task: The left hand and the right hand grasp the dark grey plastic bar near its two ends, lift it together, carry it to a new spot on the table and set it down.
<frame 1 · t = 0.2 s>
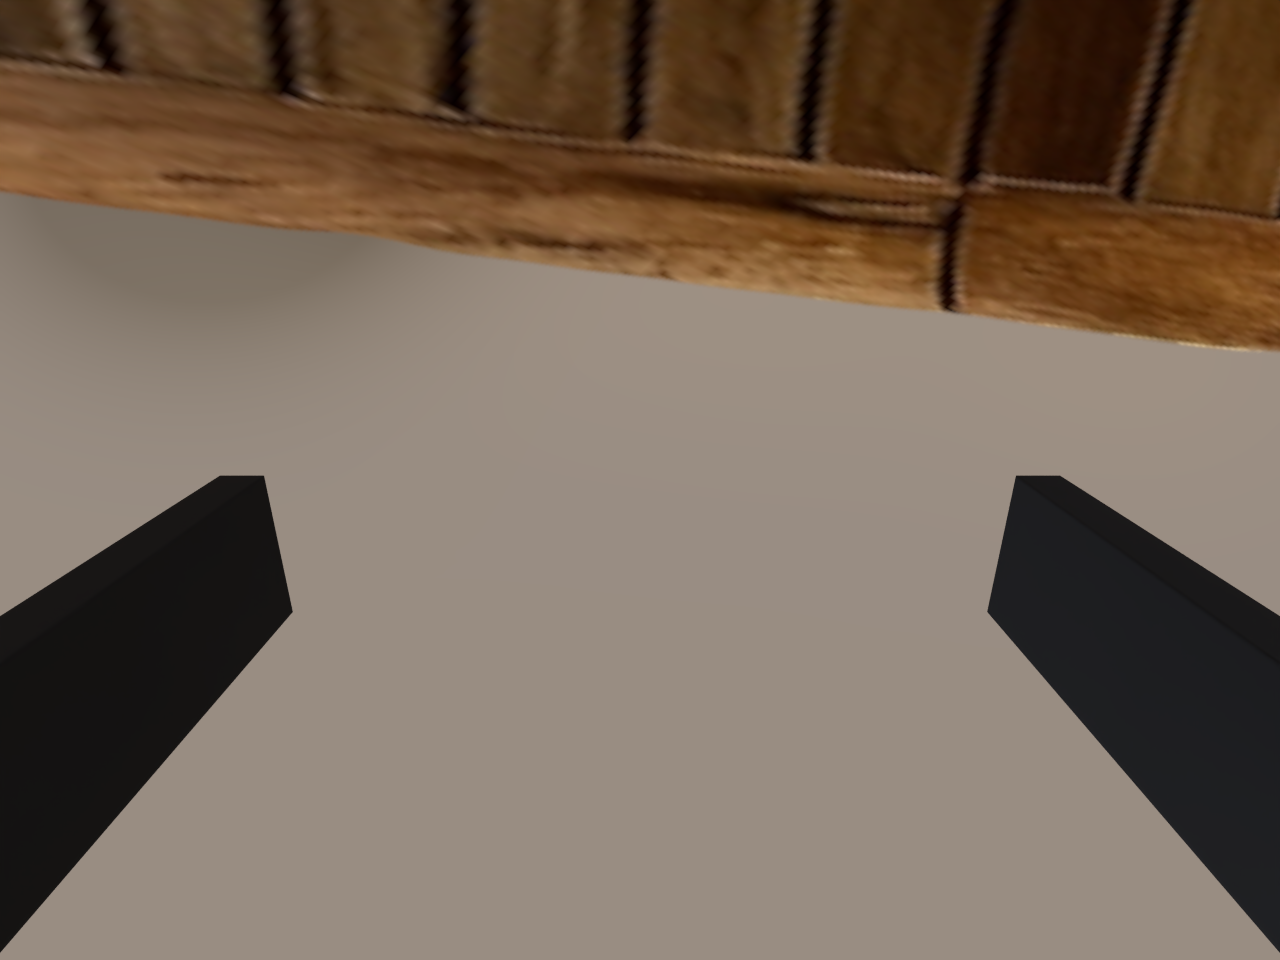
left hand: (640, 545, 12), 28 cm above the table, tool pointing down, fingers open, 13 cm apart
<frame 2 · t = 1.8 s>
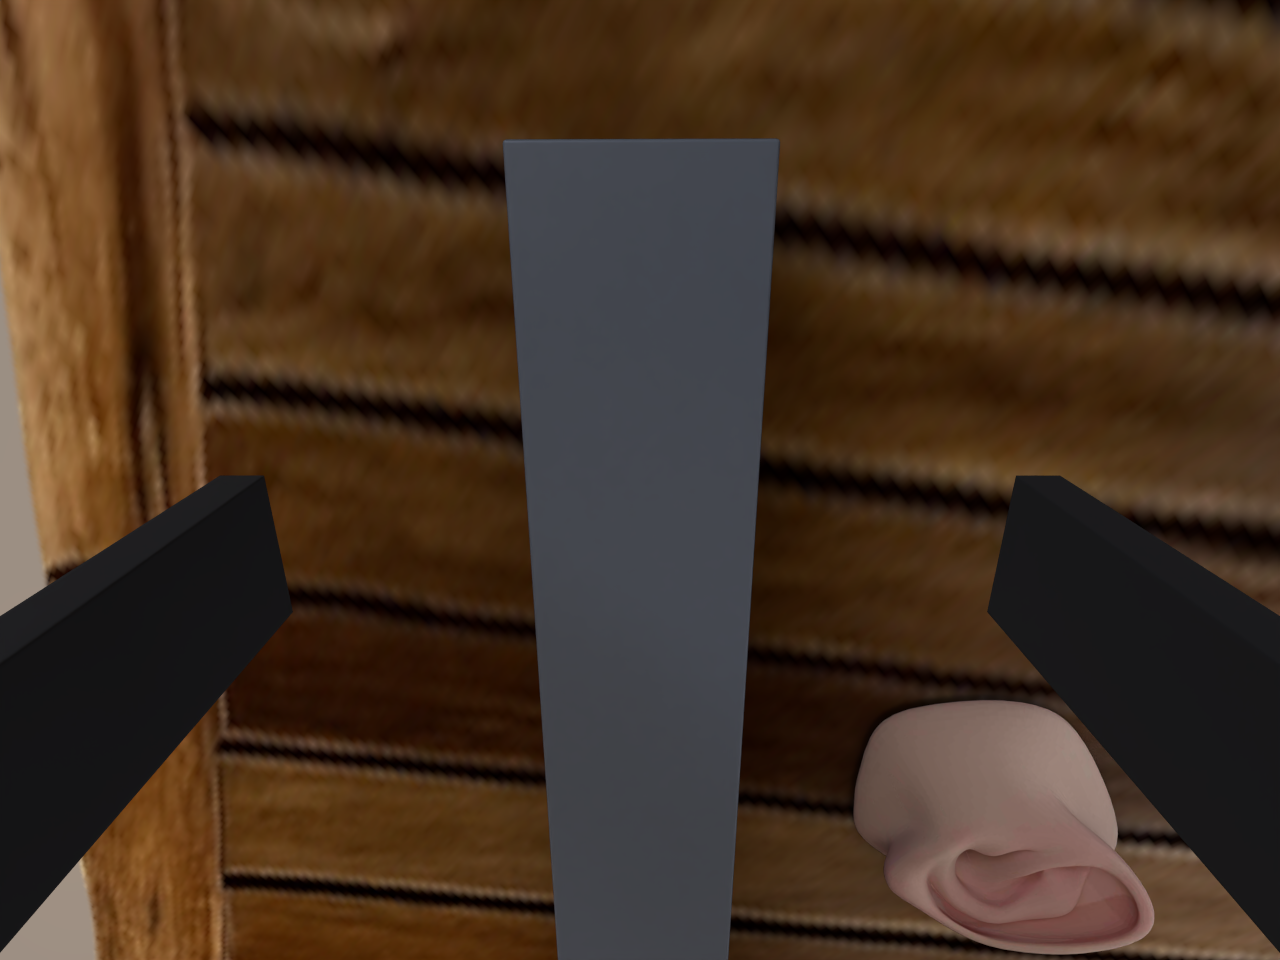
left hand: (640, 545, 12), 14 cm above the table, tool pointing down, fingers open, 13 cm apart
anatomical model: (977, 799, 33), on the table
bar: (642, 836, 33), on the table
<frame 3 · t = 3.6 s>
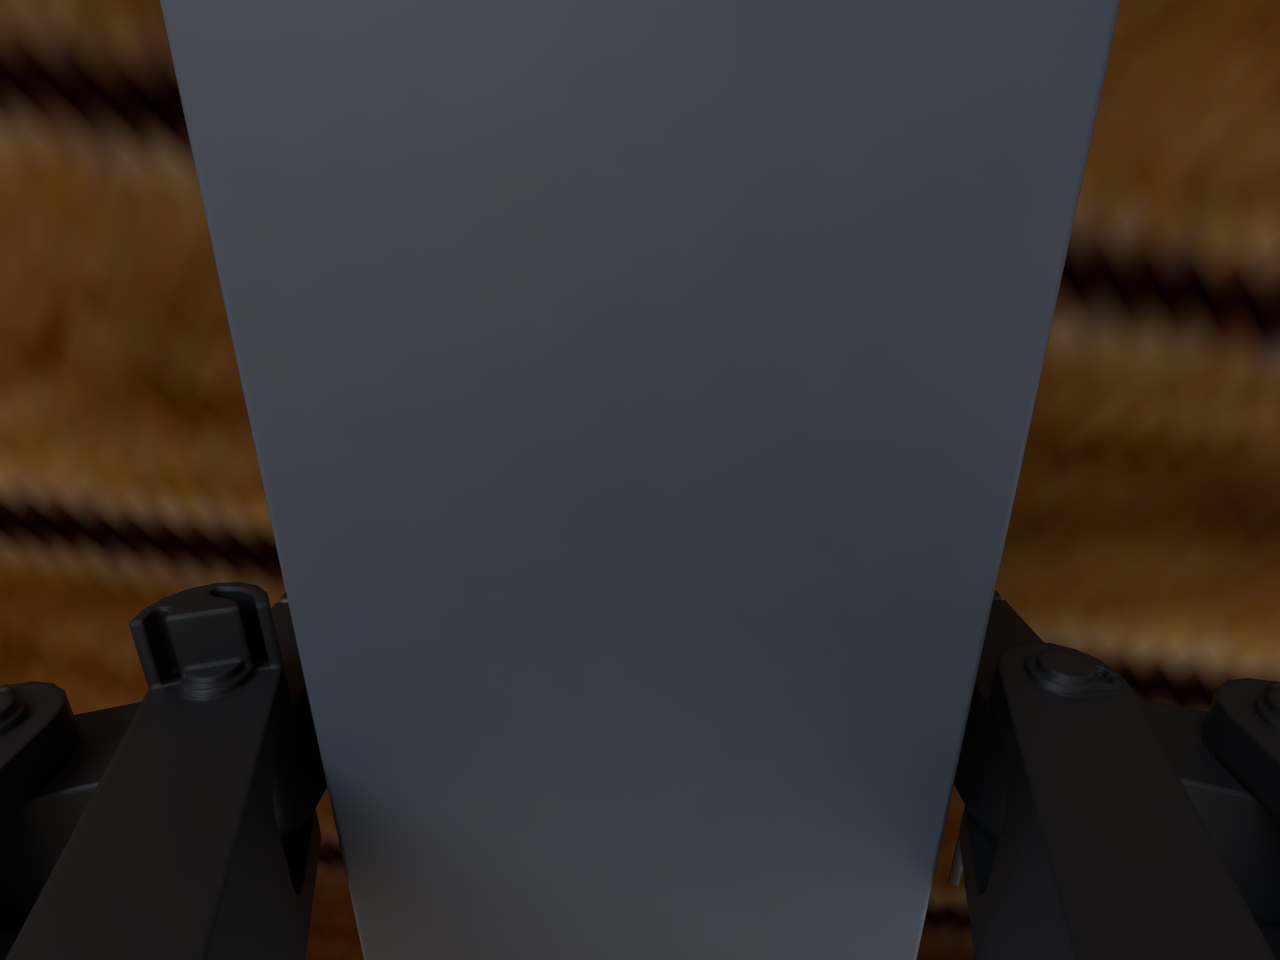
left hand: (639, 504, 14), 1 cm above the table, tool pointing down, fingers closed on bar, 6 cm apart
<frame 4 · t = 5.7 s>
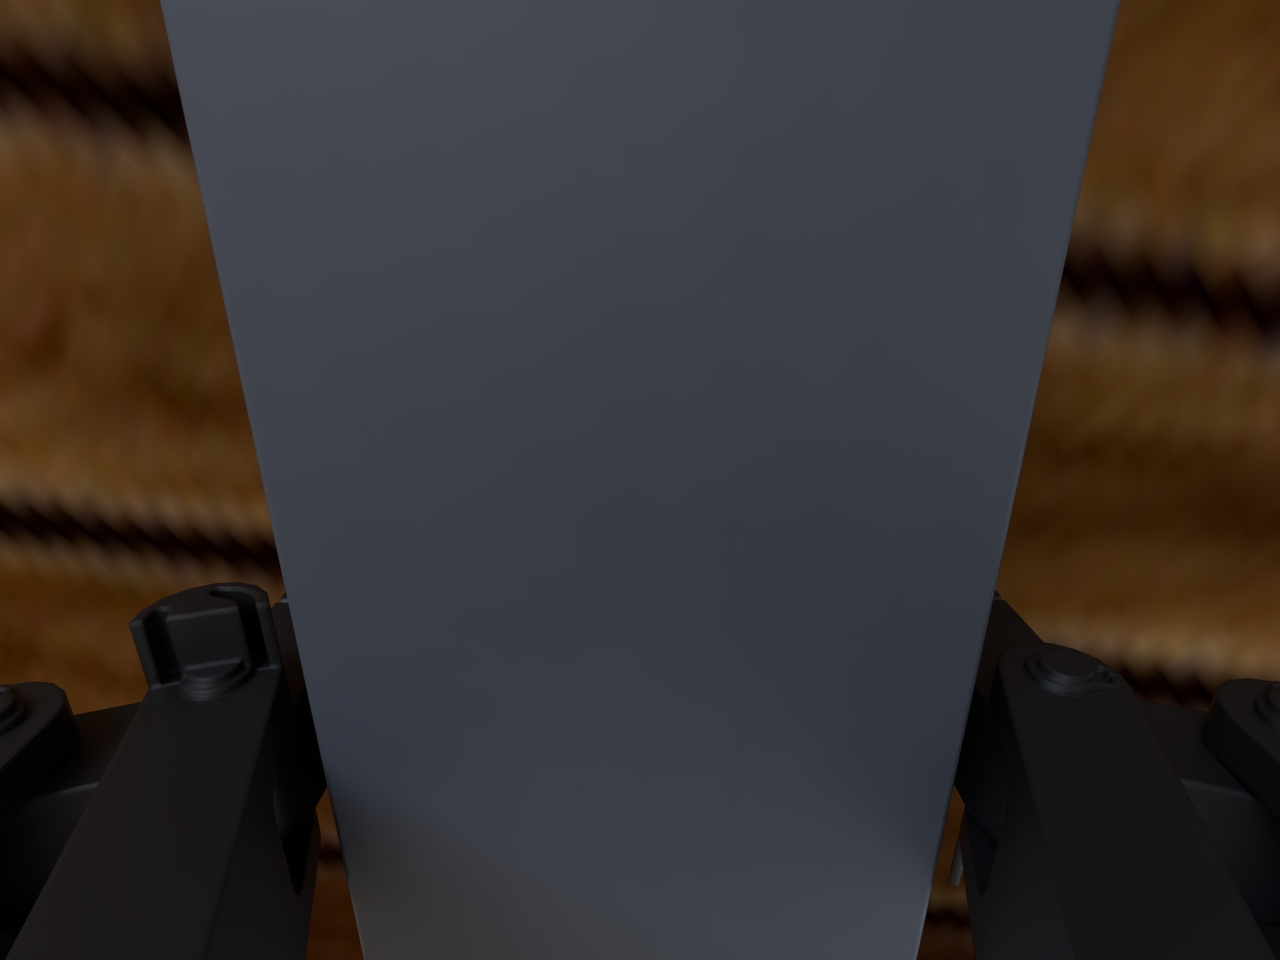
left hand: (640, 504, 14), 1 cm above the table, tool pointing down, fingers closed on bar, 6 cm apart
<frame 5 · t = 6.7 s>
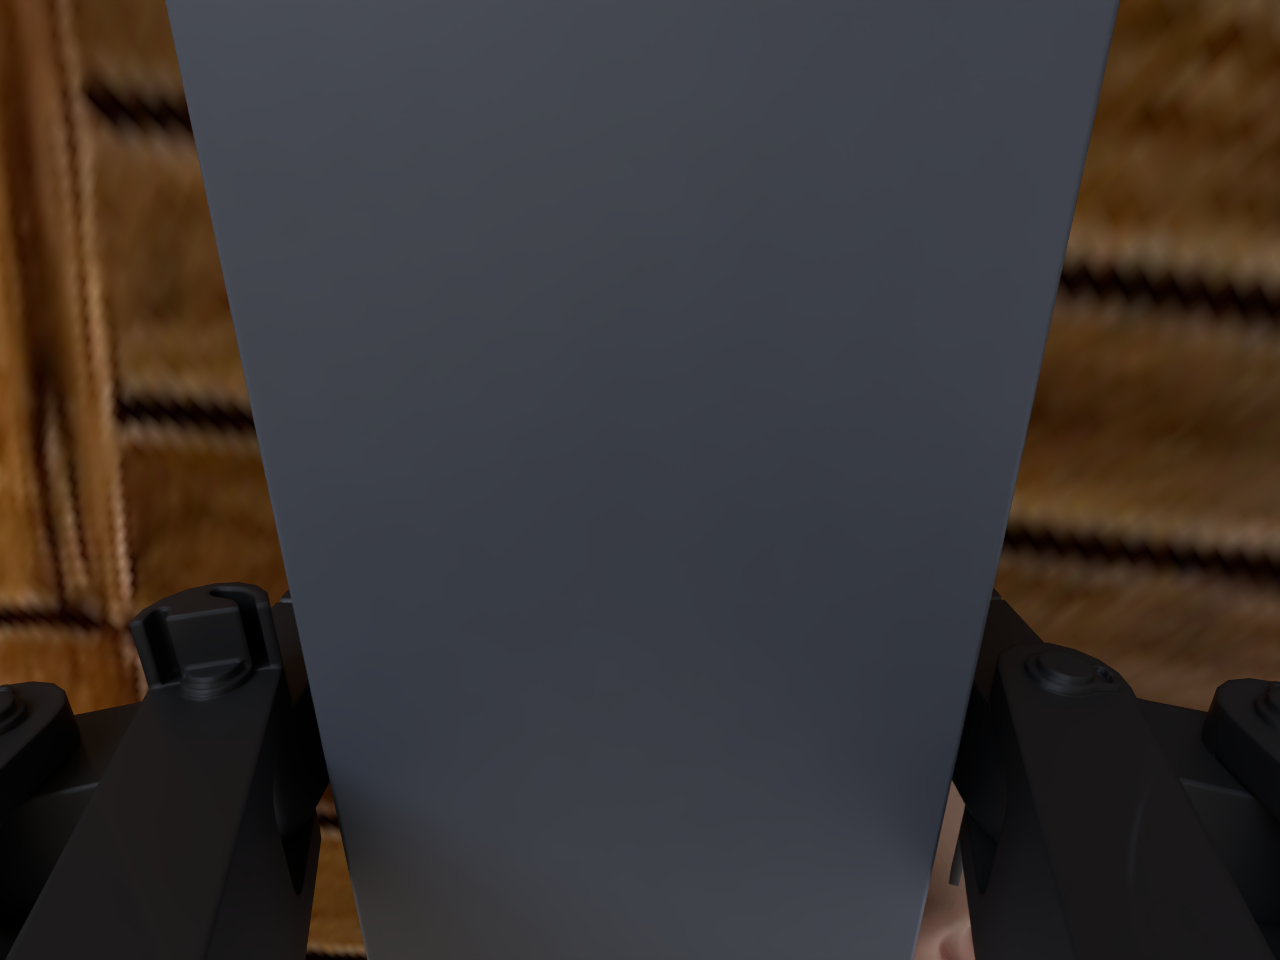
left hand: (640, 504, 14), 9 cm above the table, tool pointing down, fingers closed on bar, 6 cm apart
anatomical model: (992, 854, 30), on the table
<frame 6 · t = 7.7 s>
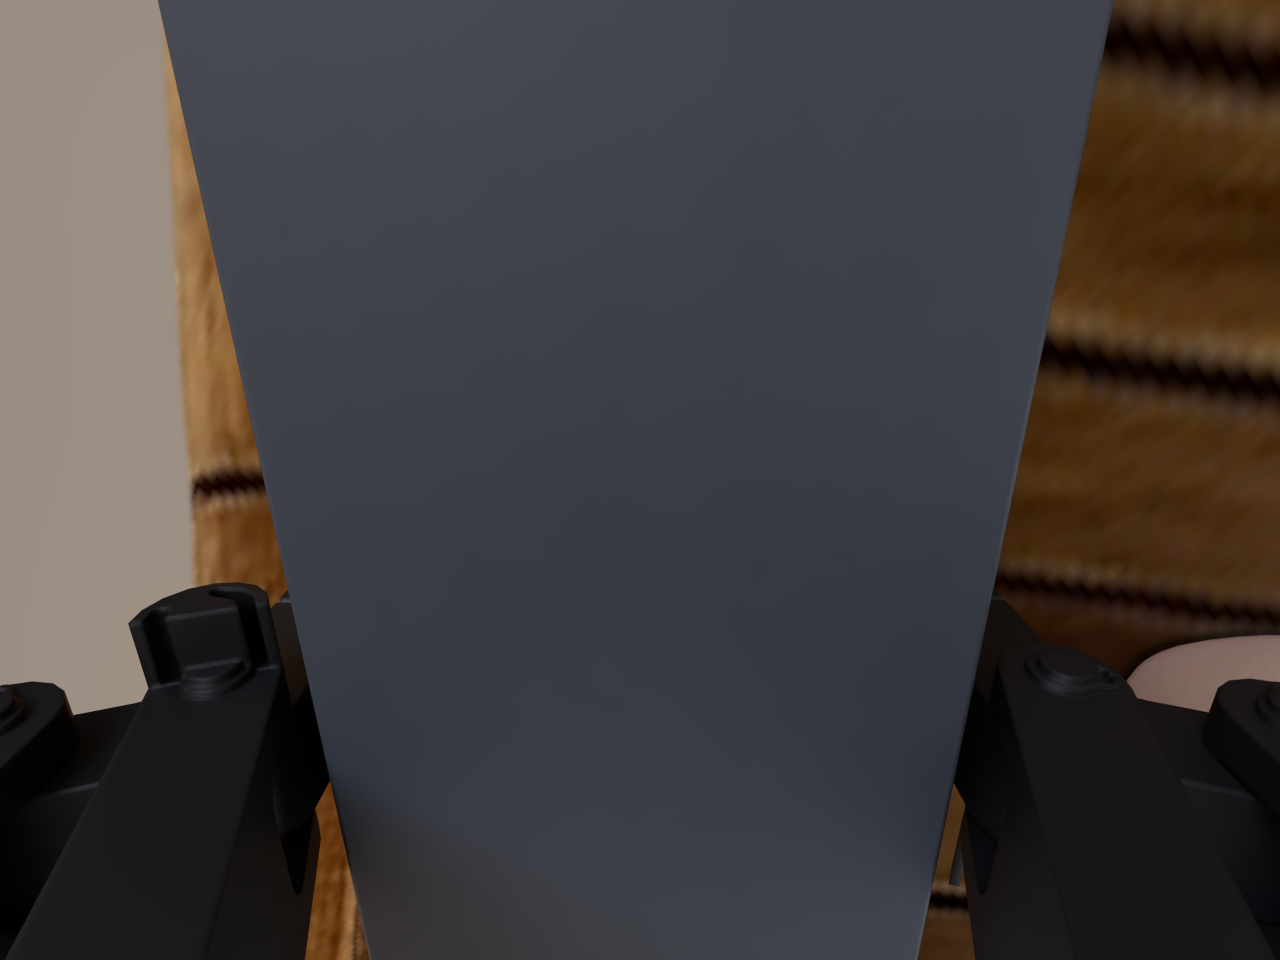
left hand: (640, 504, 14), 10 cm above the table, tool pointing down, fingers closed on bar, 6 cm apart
anatomical model: (1234, 755, 28), on the table
when the left hand's fingers open (1 cm above the table, at t = 9.8 s): bar stays where it is, on the table.
when the right hand's fingers open (1 cm above the table, at t = 9.8 s): bar stays where it is, on the table.
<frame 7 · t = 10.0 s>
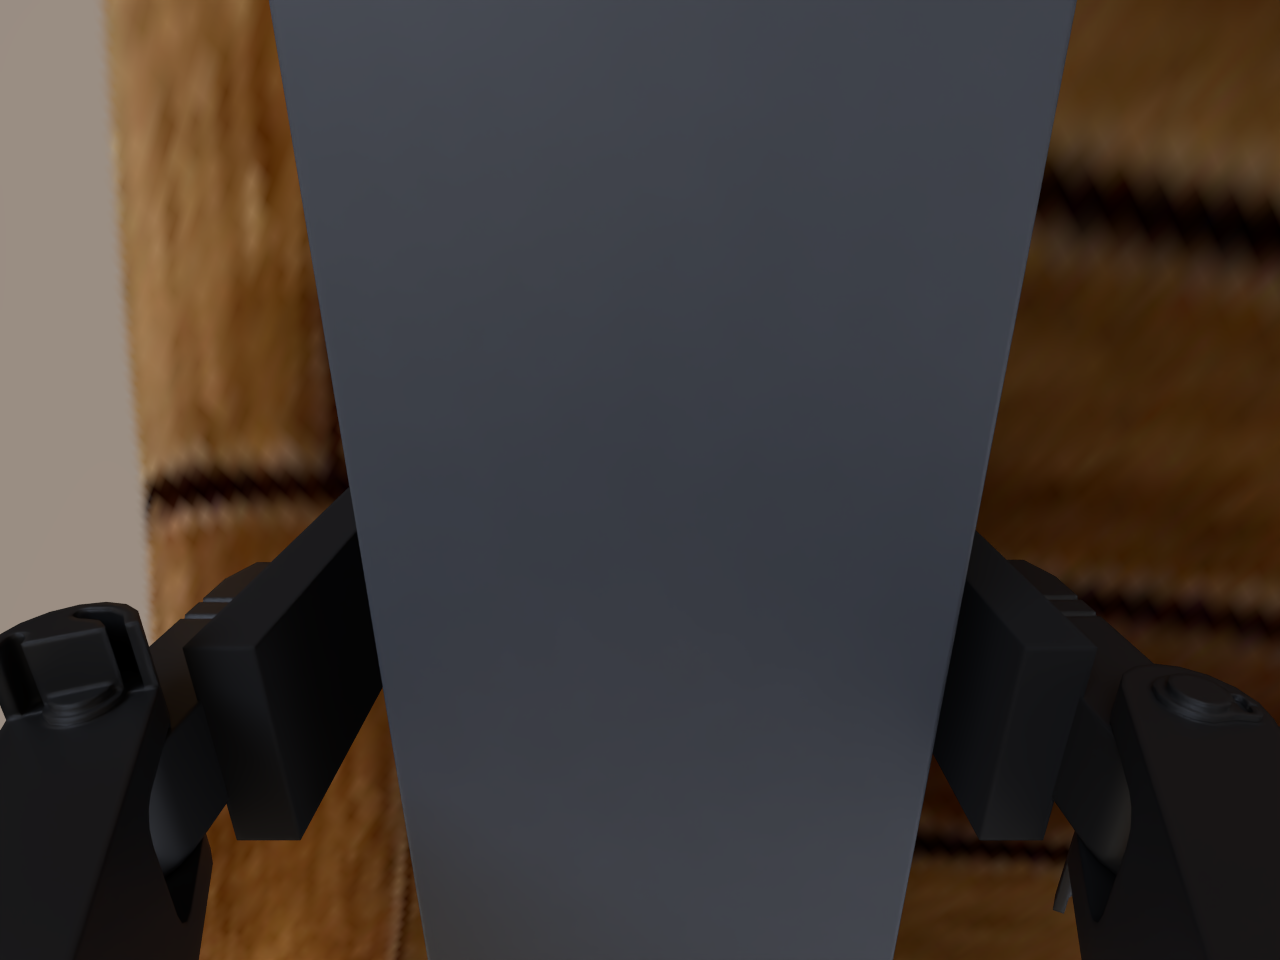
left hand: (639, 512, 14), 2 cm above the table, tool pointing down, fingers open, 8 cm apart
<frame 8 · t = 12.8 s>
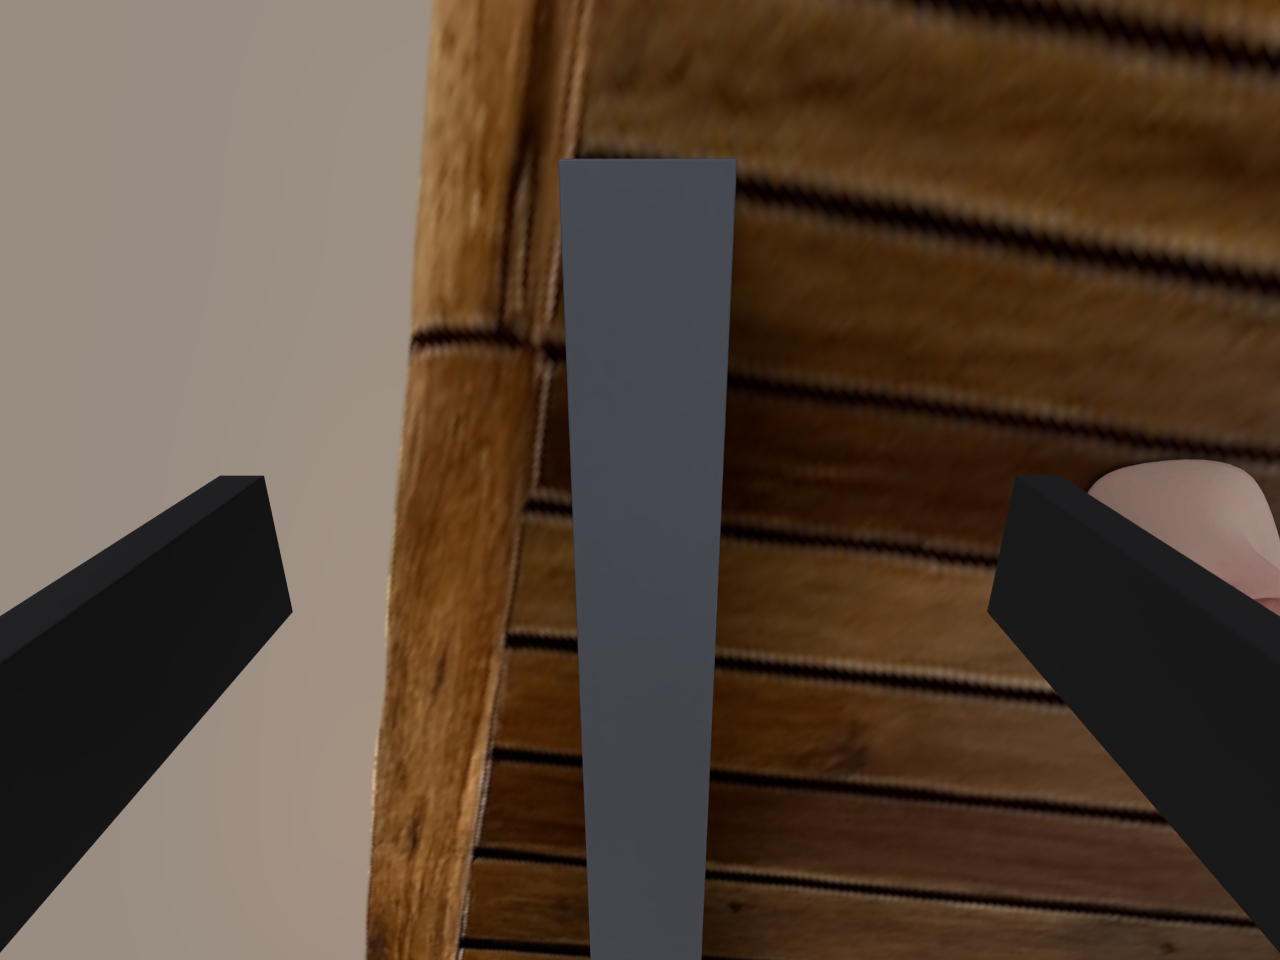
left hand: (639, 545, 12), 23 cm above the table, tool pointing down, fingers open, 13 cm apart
anatomical model: (1167, 560, 38), on the table
bar: (645, 709, 42), on the table
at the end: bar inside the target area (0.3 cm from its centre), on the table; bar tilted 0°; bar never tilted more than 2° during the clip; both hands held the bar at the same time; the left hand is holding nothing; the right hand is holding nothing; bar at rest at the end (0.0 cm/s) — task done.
